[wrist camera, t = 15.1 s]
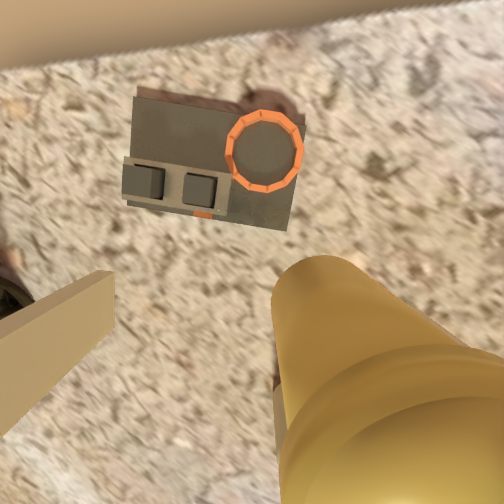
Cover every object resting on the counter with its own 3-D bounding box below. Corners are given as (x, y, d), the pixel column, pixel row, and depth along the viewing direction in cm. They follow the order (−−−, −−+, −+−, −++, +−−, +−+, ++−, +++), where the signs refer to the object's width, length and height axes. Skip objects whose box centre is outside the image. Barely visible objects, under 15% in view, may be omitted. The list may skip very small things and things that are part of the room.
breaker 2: (191, 200, 34) (181, 202, 30) (194, 176, 34) (184, 174, 29) (215, 204, 34) (208, 206, 30) (218, 180, 34) (212, 178, 29)
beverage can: (265, 385, 43) (267, 459, 31) (302, 369, 42) (318, 438, 30) (283, 416, 44) (292, 498, 32) (320, 400, 43) (342, 479, 31)
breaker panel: (132, 204, 37) (112, 206, 32) (138, 100, 34) (118, 85, 29) (285, 229, 37) (289, 235, 32) (304, 128, 34) (312, 118, 29)
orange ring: (222, 185, 35) (220, 185, 33) (232, 108, 33) (231, 104, 31) (293, 197, 35) (294, 197, 33) (307, 120, 33) (310, 117, 31)
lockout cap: (257, 348, 16) (263, 617, 6) (272, 242, 14) (312, 358, 4) (365, 360, 16) (550, 644, 6) (390, 256, 14) (685, 399, 4)
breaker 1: (139, 193, 33) (121, 193, 29) (141, 167, 32) (123, 163, 28) (164, 197, 33) (149, 198, 29) (166, 171, 32) (152, 168, 28)
